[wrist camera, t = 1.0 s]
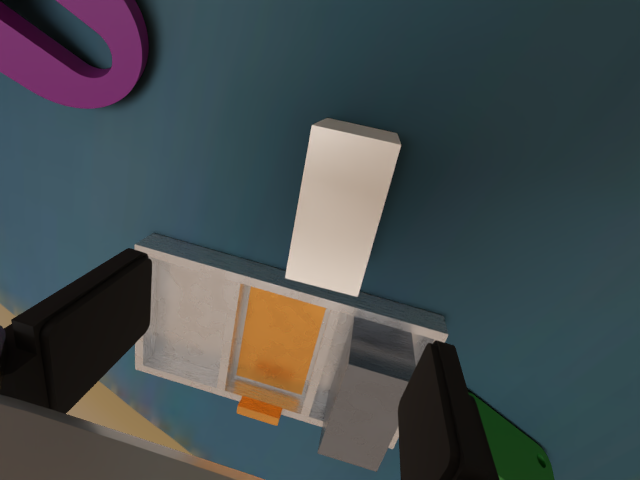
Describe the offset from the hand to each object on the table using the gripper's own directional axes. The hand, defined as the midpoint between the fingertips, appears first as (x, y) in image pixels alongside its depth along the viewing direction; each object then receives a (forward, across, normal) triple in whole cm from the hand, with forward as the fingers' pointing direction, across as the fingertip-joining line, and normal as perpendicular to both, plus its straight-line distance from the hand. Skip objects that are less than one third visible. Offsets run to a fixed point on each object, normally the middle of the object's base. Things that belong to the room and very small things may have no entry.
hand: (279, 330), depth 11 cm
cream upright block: (+17, 0, 0) cm, 17 cm away
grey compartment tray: (+17, +2, +15) cm, 22 cm away
